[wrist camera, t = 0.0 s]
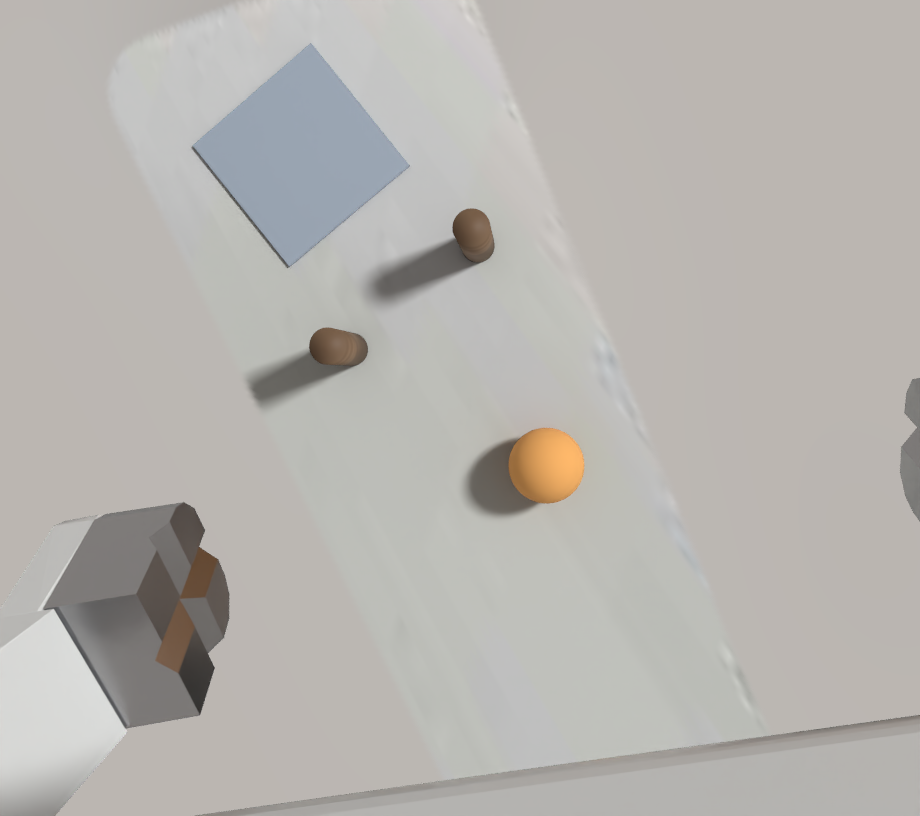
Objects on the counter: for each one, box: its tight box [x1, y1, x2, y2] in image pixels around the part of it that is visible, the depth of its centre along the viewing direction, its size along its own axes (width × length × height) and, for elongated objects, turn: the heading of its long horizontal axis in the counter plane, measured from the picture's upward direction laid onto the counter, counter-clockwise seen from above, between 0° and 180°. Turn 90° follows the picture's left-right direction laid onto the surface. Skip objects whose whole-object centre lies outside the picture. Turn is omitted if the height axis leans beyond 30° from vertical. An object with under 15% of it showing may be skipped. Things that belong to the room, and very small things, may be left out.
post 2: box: [453, 209, 494, 262], centre depth 60 cm, size 2×2×8 cm
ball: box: [509, 428, 584, 503], centre depth 61 cm, size 6×6×6 cm
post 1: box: [309, 328, 368, 366], centre depth 61 cm, size 2×2×8 cm
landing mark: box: [193, 43, 409, 267], centre depth 64 cm, size 12×12×1 cm
